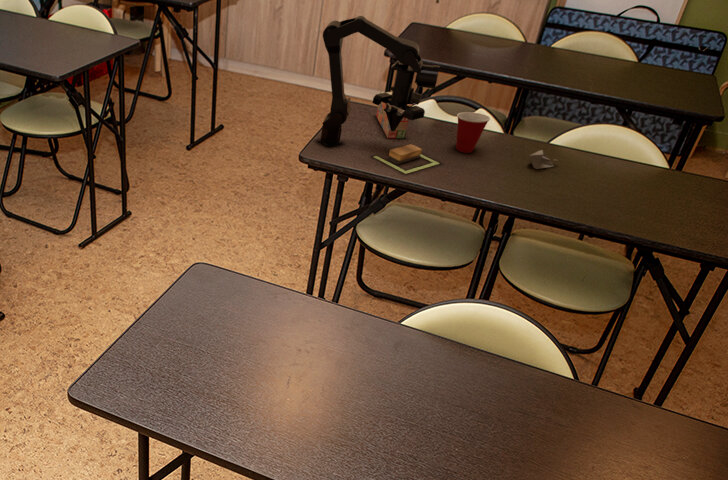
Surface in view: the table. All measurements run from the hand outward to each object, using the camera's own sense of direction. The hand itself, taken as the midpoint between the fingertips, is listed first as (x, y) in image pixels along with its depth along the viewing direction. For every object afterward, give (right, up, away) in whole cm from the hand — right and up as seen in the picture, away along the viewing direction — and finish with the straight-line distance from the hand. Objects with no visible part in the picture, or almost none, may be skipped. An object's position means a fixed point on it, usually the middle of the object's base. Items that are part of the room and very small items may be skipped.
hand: (392, 131), depth 234 cm
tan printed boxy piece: (+5, +9, +22) cm, 24 cm away
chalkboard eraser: (+4, -10, 0) cm, 10 cm away
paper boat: (+48, -14, -4) cm, 50 cm away
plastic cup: (+27, -4, +7) cm, 29 cm away
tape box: (+4, -10, 0) cm, 11 cm away
